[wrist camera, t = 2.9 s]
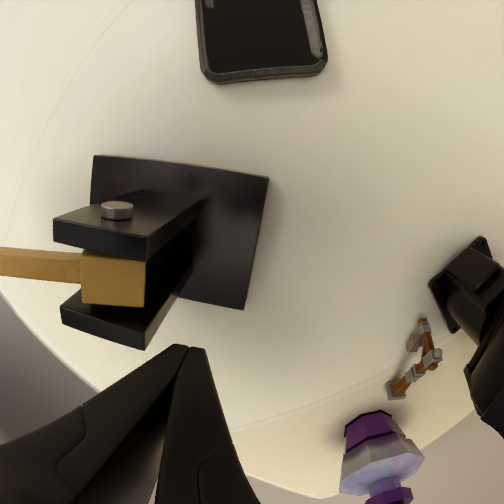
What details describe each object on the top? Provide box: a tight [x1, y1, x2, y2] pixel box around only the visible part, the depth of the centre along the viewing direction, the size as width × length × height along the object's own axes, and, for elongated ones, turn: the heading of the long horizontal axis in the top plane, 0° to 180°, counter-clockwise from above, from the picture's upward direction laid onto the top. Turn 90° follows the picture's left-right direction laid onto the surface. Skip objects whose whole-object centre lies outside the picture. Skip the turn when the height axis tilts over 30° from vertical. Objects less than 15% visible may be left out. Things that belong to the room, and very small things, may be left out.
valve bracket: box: [53, 155, 269, 351], centre depth 15 cm, size 12×9×10 cm
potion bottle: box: [339, 410, 425, 504], centre depth 19 cm, size 9×9×12 cm
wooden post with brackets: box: [386, 318, 442, 401], centre depth 21 cm, size 2×8×4 cm, turn 177°
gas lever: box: [0, 247, 146, 307], centre depth 10 cm, size 13×3×3 cm, turn 79°
